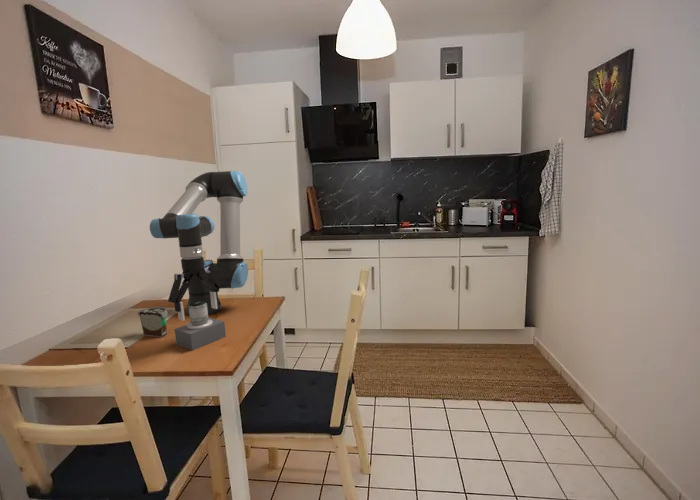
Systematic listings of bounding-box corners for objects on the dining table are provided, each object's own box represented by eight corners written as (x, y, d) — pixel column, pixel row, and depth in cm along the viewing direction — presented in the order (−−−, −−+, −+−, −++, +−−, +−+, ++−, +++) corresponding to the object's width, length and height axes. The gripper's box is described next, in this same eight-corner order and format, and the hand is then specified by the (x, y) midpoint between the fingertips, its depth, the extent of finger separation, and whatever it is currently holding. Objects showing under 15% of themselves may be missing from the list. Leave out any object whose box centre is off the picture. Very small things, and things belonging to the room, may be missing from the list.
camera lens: (212, 321, 141) (210, 300, 139) (199, 327, 135) (197, 306, 134) (200, 319, 143) (197, 299, 142) (186, 325, 138) (184, 304, 136)
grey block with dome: (175, 344, 138) (172, 326, 137) (208, 331, 149) (206, 314, 148) (192, 350, 132) (190, 332, 131) (225, 336, 143) (224, 319, 142)
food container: (177, 331, 150) (174, 307, 149) (165, 337, 145) (162, 312, 143) (153, 329, 154) (150, 305, 153) (140, 334, 149) (137, 310, 147)
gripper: (164, 265, 123) (172, 326, 127) (227, 251, 143) (233, 305, 147) (152, 263, 127) (160, 323, 131) (215, 250, 147) (220, 302, 151)
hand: (198, 313), depth 139 cm, fingers open, 13 cm apart
